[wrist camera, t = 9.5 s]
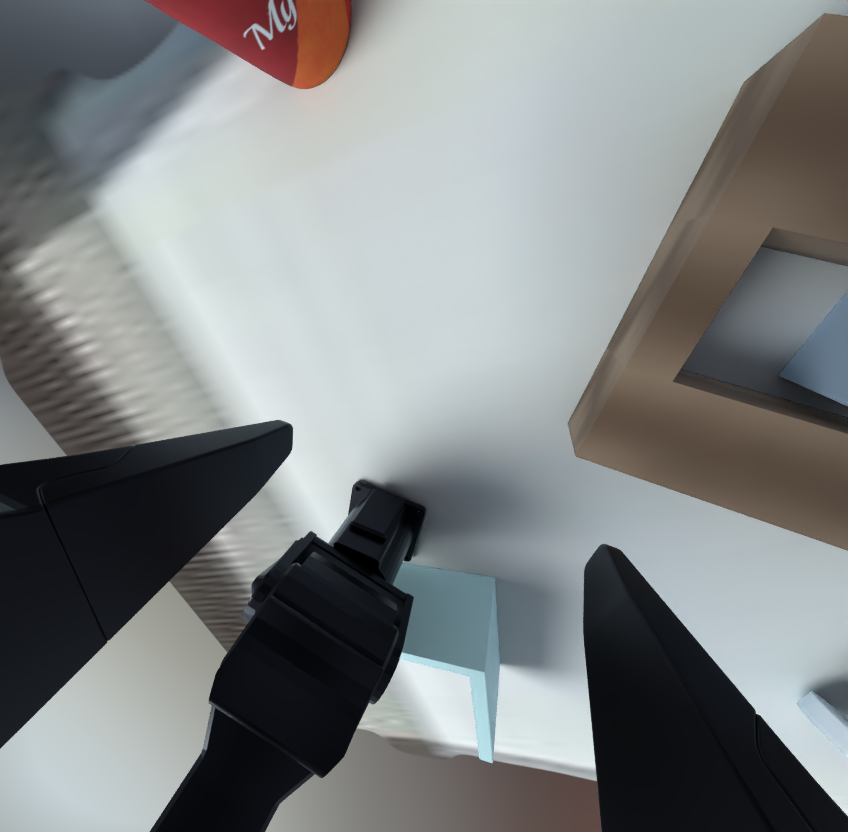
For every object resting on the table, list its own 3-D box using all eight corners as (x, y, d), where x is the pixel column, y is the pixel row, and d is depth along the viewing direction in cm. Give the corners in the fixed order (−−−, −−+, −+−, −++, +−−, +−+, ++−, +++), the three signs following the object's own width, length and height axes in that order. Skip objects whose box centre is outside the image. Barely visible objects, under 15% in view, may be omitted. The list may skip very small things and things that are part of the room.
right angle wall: (369, 557, 31) (327, 634, 25) (495, 576, 28) (484, 672, 21) (390, 637, 36) (359, 719, 30) (500, 662, 32) (492, 763, 26)
